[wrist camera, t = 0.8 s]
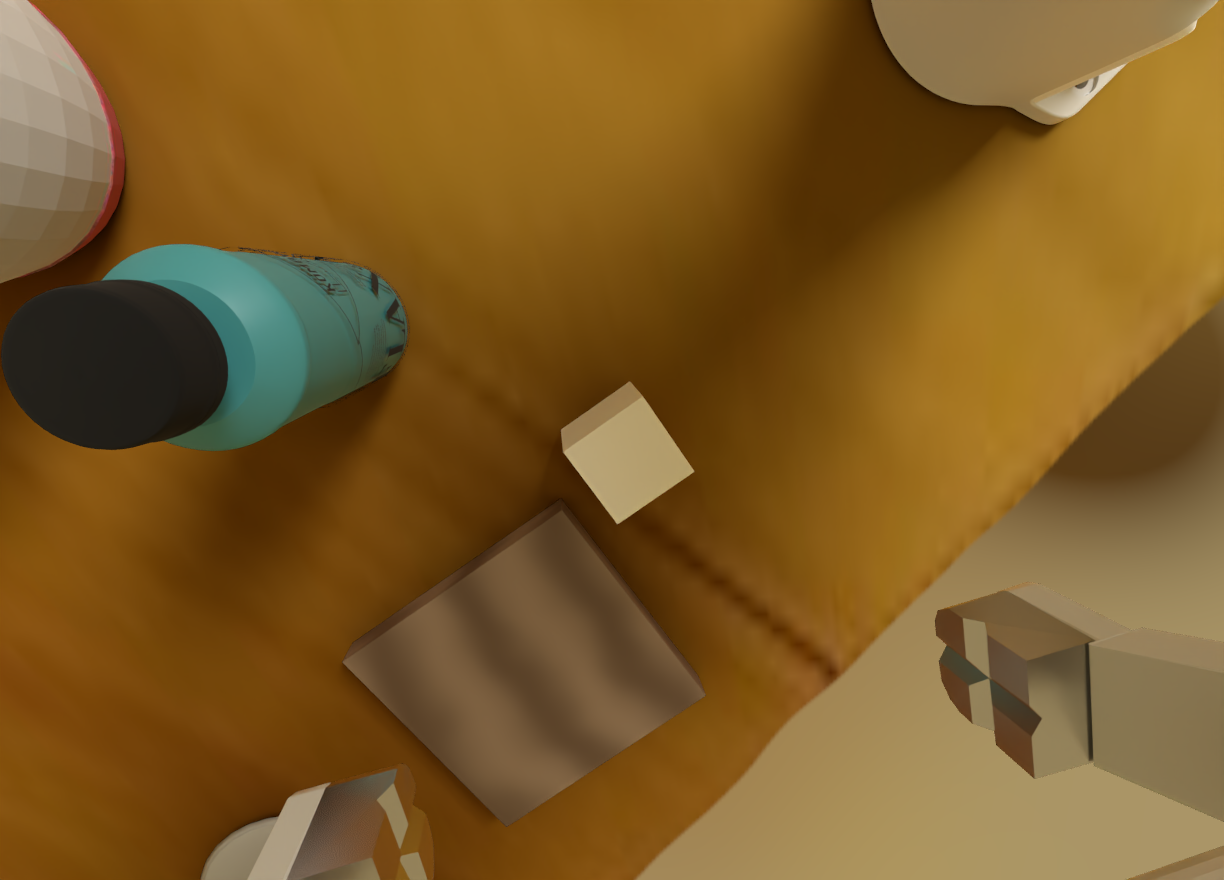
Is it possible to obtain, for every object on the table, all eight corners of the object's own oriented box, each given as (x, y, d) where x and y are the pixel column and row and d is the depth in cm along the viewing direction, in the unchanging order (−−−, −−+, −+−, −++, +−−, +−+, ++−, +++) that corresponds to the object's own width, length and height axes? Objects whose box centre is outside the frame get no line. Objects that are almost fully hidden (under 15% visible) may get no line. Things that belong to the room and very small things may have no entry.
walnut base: (560, 498, 37) (561, 510, 35) (698, 676, 41) (705, 695, 39) (352, 642, 38) (342, 662, 36) (508, 802, 42) (506, 827, 40)
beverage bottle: (413, 388, 34) (243, 522, 15) (289, 372, 33) (-64, 493, 14) (423, 270, 33) (247, 250, 13) (293, 250, 32) (-97, 196, 12)
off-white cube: (629, 381, 35) (642, 396, 31) (675, 447, 37) (694, 471, 32) (560, 429, 36) (563, 451, 31) (608, 493, 37) (617, 524, 32)
